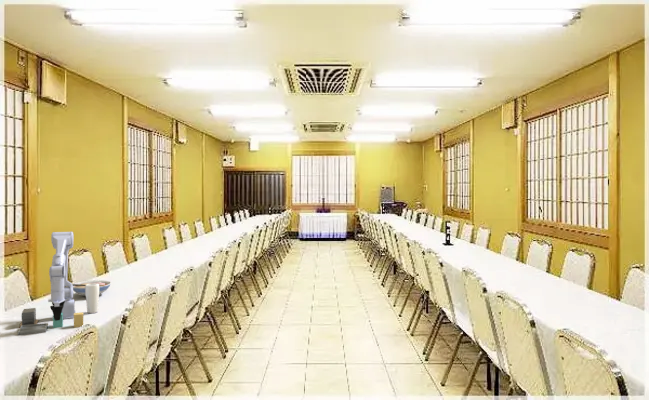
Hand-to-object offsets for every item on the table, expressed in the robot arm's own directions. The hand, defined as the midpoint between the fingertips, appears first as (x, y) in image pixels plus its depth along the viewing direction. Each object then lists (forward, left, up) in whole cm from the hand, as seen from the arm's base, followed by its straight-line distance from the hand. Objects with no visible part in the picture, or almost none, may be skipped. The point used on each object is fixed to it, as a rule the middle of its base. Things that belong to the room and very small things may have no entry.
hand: (57, 318), depth 238 cm
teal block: (0, 0, -4) cm, 4 cm away
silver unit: (+13, -9, -4) cm, 16 cm away
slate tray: (+10, +3, -4) cm, 11 cm away
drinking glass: (-15, -22, -4) cm, 27 cm away
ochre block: (-9, +3, -4) cm, 10 cm away
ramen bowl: (-14, -66, -4) cm, 68 cm away
